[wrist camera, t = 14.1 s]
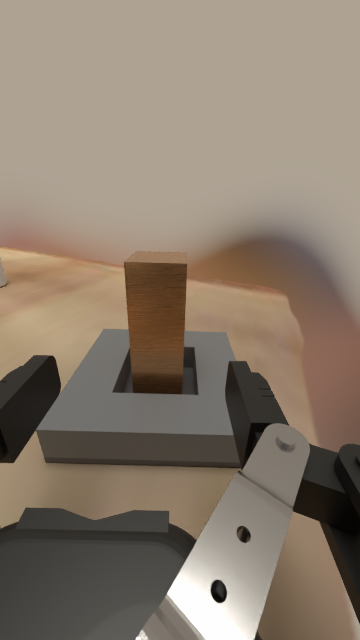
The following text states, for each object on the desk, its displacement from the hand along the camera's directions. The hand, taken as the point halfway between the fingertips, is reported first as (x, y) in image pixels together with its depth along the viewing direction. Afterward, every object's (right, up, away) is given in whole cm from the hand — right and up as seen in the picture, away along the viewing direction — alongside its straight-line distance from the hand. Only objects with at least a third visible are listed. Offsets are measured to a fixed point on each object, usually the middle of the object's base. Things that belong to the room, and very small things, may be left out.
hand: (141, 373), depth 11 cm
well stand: (0, -4, +11) cm, 12 cm away
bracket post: (0, -4, +11) cm, 12 cm away
